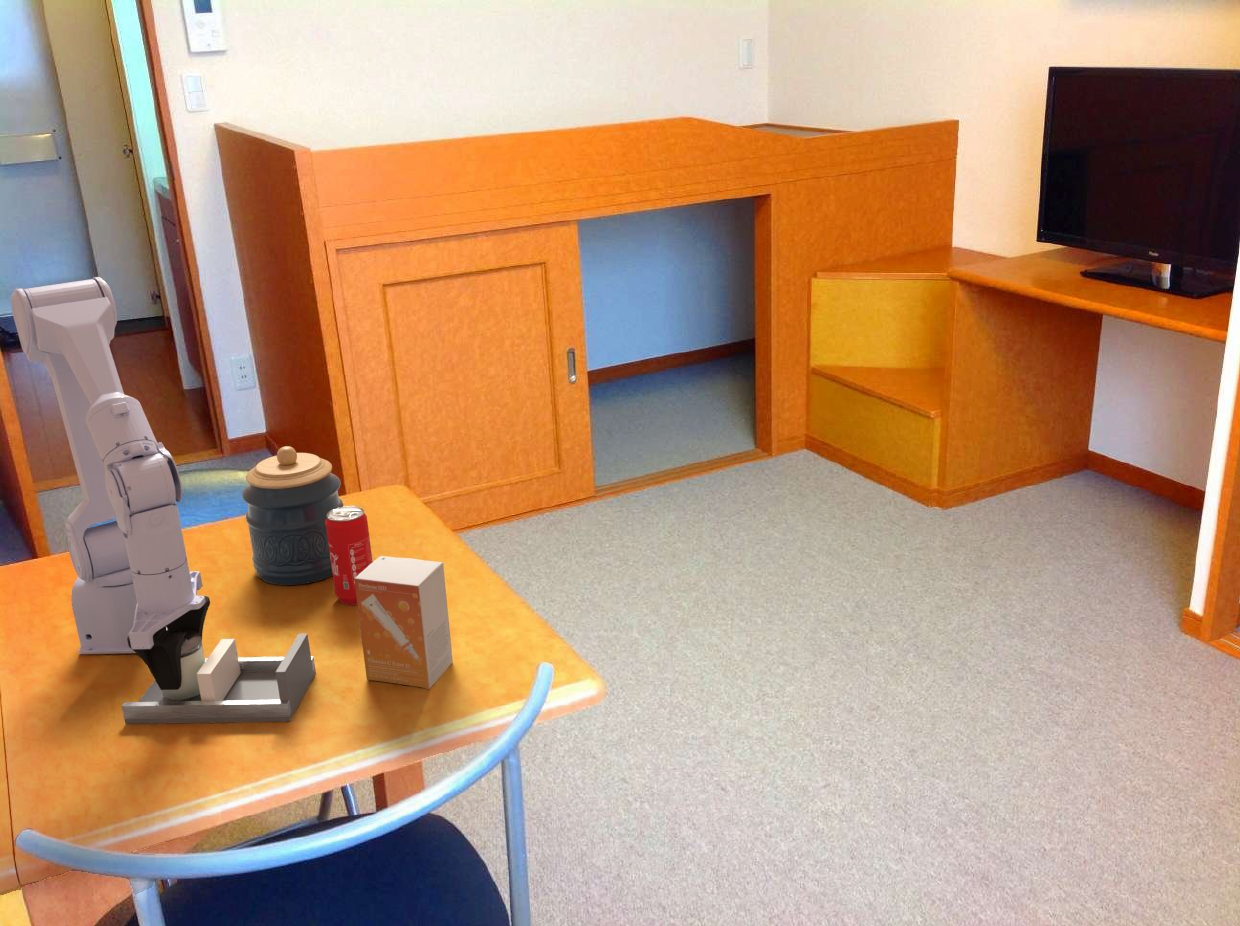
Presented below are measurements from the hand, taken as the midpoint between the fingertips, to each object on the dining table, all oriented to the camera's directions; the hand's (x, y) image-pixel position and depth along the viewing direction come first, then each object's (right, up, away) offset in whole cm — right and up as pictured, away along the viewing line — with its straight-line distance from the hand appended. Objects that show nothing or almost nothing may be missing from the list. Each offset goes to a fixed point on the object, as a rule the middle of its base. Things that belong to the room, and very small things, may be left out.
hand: (180, 674), depth 129 cm
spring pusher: (+5, -3, +1) cm, 5 cm away
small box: (+25, -1, +5) cm, 25 cm away
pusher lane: (+5, -3, +1) cm, 5 cm away
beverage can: (+14, +6, +23) cm, 28 cm away
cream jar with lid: (0, -2, +1) cm, 2 cm away
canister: (+5, +9, +33) cm, 34 cm away
